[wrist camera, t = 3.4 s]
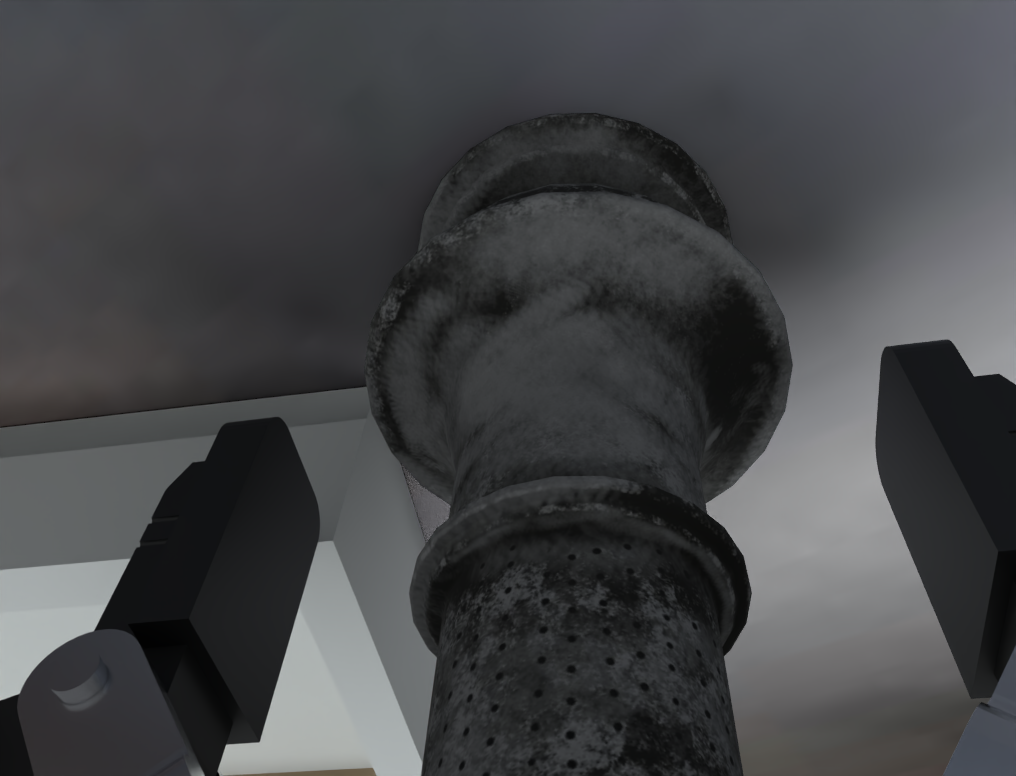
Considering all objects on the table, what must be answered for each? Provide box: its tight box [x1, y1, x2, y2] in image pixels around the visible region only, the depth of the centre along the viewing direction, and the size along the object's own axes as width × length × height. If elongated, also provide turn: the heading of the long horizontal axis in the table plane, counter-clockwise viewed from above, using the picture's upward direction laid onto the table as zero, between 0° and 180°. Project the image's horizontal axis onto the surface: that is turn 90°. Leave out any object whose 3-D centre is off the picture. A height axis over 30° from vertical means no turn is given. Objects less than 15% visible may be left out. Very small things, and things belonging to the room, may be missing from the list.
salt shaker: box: [364, 113, 793, 776], centre depth 11 cm, size 6×6×12 cm
